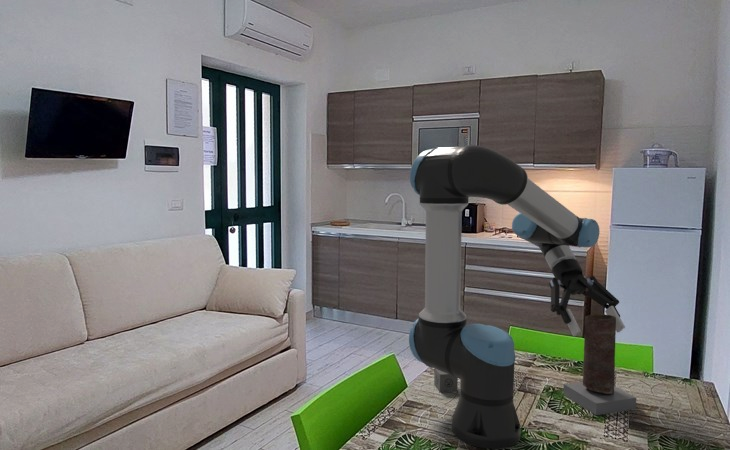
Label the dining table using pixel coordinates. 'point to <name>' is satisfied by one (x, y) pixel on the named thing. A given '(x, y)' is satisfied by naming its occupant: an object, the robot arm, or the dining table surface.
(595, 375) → the candle
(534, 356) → the dining table surface
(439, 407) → the dining table surface
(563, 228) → the robot arm
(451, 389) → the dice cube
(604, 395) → the stand
